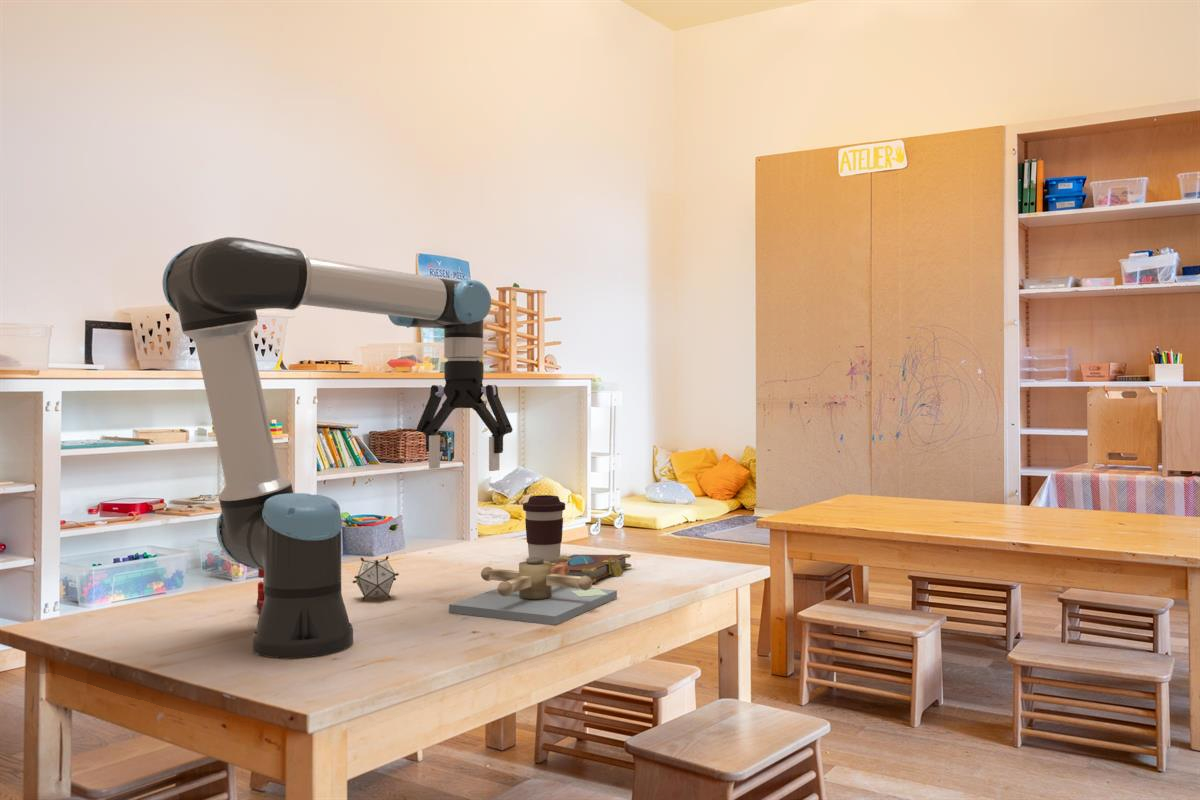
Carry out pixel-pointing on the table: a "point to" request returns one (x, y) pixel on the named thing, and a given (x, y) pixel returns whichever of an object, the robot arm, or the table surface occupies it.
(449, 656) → the table surface
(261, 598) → the toy fire truck
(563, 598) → the plate
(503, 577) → the capstan
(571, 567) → the book
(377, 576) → the game die
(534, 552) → the coffee cup
